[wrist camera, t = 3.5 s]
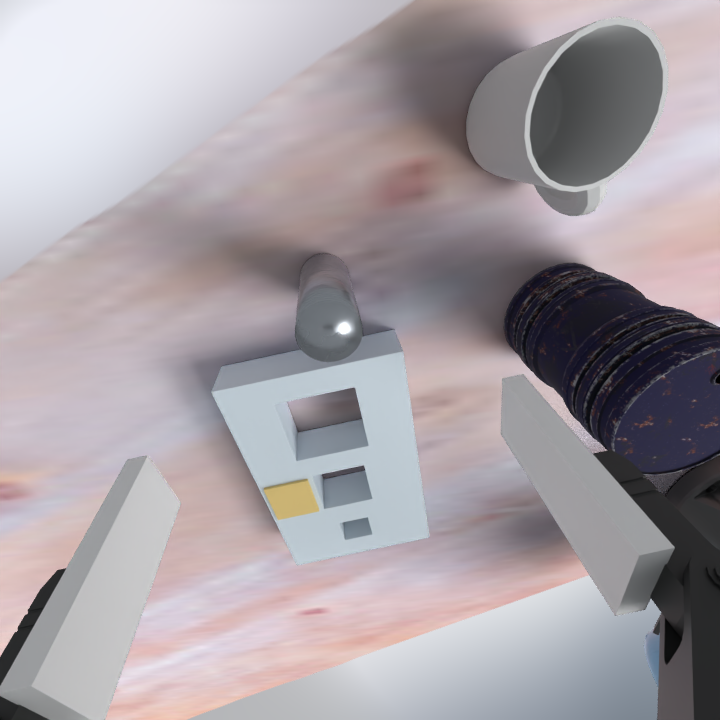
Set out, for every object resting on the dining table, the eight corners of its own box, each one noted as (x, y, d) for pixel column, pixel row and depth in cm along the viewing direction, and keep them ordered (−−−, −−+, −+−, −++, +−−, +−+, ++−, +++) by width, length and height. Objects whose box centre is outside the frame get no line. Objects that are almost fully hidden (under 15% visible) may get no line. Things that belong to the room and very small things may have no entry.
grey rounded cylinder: (343, 248, 30) (355, 294, 21) (353, 295, 32) (367, 354, 23) (294, 259, 30) (286, 309, 21) (307, 305, 32) (304, 367, 23)
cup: (548, 27, 24) (658, -25, 16) (583, 175, 29) (681, 190, 21) (446, 98, 25) (504, 81, 17) (497, 228, 30) (559, 259, 22)
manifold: (394, 329, 34) (403, 353, 30) (421, 508, 47) (430, 539, 44) (221, 366, 34) (210, 394, 30) (298, 534, 47) (296, 568, 44)
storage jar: (580, 361, 38) (715, 476, 25) (490, 358, 36) (584, 478, 24) (626, 265, 33) (823, 347, 20) (523, 257, 31) (665, 339, 19)
